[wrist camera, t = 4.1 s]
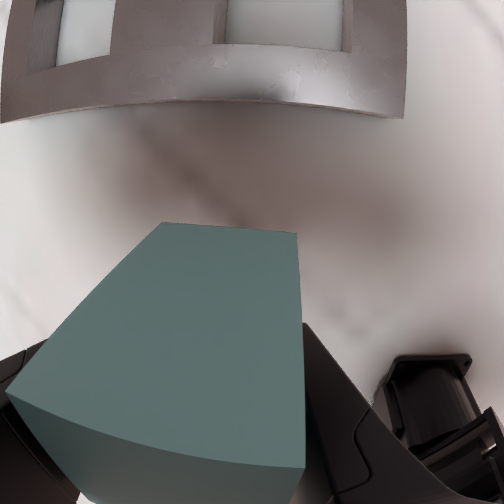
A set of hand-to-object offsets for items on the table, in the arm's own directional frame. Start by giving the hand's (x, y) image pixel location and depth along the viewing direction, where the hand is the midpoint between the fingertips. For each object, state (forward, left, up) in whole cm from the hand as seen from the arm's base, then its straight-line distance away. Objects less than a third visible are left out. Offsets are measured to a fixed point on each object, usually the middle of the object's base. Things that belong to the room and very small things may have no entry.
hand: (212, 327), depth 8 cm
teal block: (0, 0, -2) cm, 2 cm away
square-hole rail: (+4, -11, -8) cm, 14 cm away
